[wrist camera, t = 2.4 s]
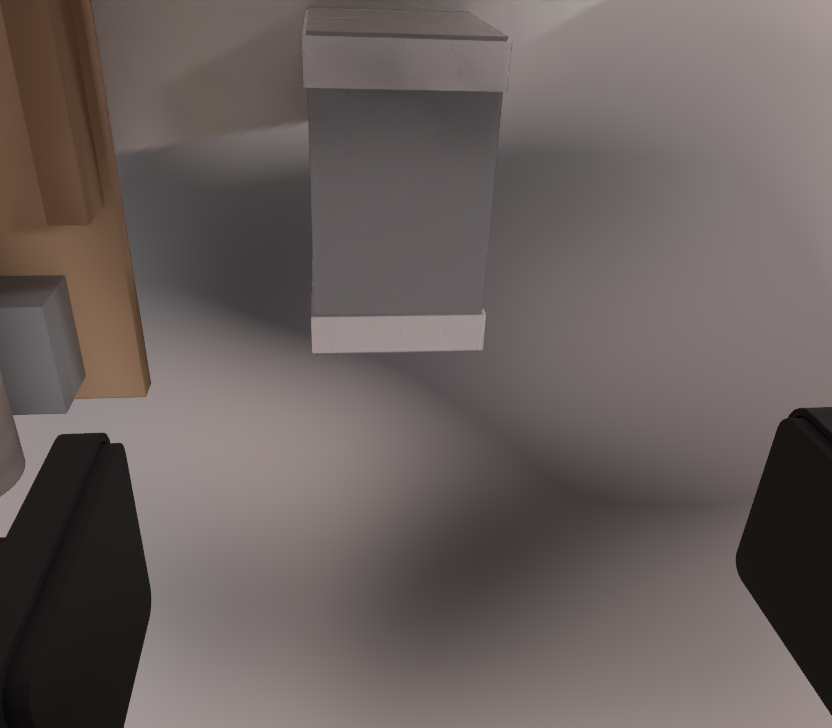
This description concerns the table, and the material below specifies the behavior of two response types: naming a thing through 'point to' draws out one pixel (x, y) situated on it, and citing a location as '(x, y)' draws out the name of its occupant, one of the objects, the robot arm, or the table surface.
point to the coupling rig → (59, 227)
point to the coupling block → (401, 176)
